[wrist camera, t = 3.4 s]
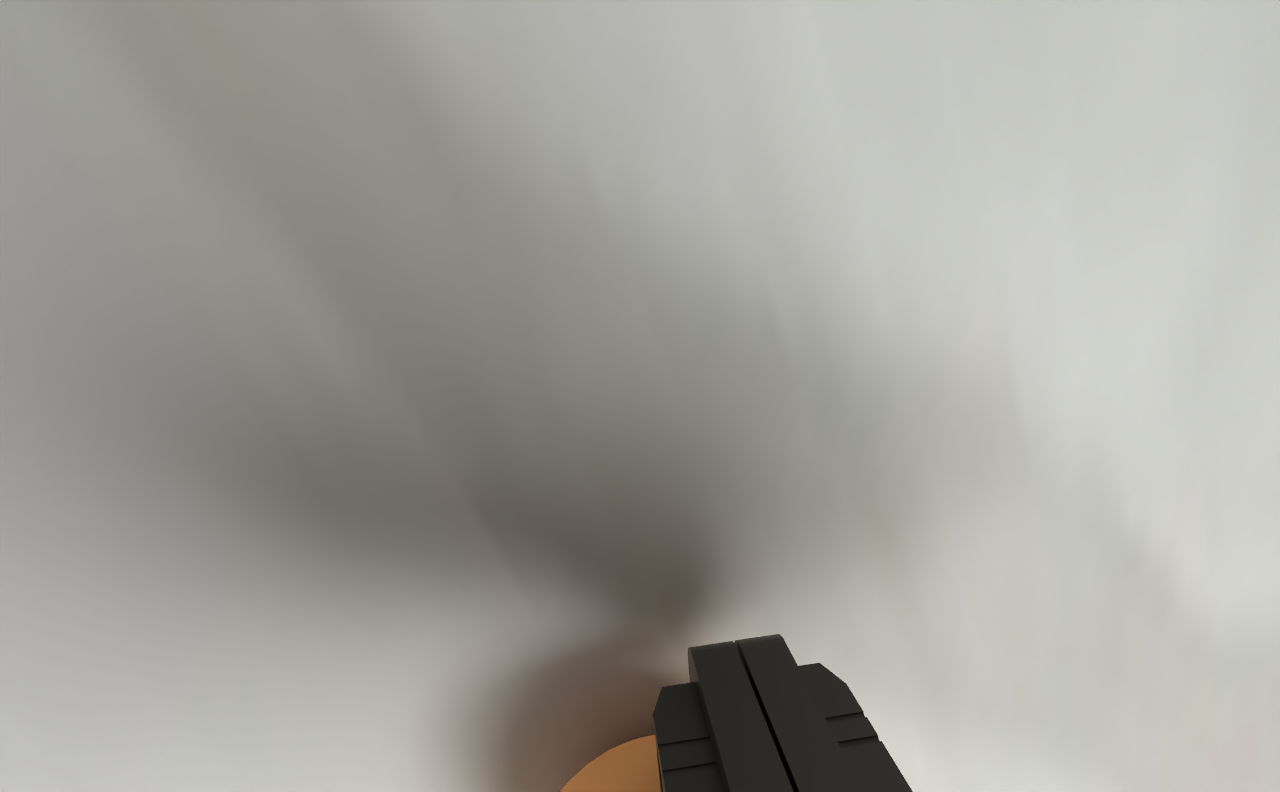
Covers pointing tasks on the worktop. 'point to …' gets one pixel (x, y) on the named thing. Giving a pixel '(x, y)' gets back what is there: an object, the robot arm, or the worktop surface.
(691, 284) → the worktop surface
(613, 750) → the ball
